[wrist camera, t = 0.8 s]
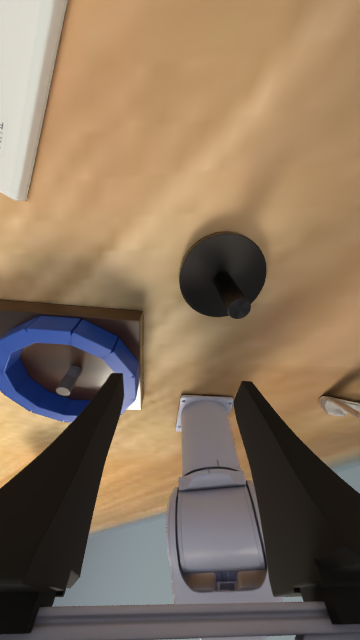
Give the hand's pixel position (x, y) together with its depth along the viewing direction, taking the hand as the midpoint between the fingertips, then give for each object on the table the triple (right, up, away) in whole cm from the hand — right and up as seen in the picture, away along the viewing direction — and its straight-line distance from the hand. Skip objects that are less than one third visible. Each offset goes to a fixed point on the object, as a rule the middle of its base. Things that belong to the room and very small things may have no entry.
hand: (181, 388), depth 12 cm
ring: (-12, -2, +11) cm, 16 cm away
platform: (-12, -1, +12) cm, 17 cm away
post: (+4, +8, +7) cm, 11 cm away
